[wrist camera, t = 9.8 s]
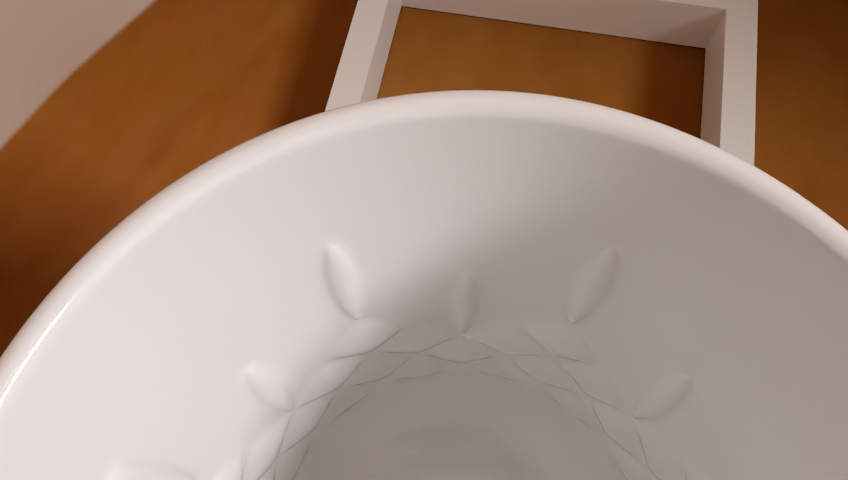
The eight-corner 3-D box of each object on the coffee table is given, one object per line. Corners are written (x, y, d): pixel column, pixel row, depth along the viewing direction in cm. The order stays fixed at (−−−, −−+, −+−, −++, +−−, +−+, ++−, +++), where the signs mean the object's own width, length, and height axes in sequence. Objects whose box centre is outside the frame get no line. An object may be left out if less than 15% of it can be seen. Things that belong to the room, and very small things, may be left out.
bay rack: (735, 29, 25) (758, -11, 23) (701, 917, 16) (735, 967, 14) (380, -19, 27) (376, -60, 25) (154, 772, 17) (118, 801, 15)
